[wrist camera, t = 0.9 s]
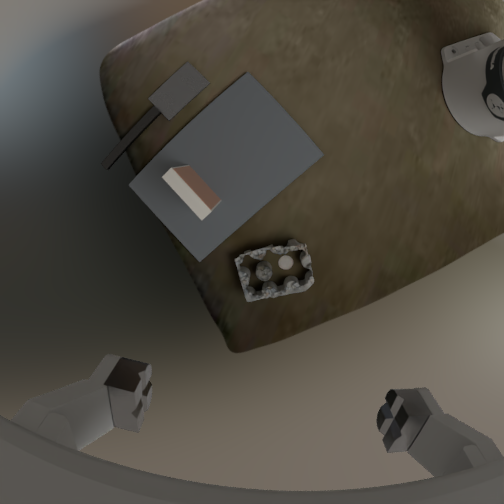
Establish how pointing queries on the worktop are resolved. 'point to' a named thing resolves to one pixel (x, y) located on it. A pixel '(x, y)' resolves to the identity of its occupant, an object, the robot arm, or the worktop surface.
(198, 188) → the tile
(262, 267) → the egg carton
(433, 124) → the worktop surface
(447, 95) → the robot arm
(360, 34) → the worktop surface
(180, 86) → the turner
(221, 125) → the mat
